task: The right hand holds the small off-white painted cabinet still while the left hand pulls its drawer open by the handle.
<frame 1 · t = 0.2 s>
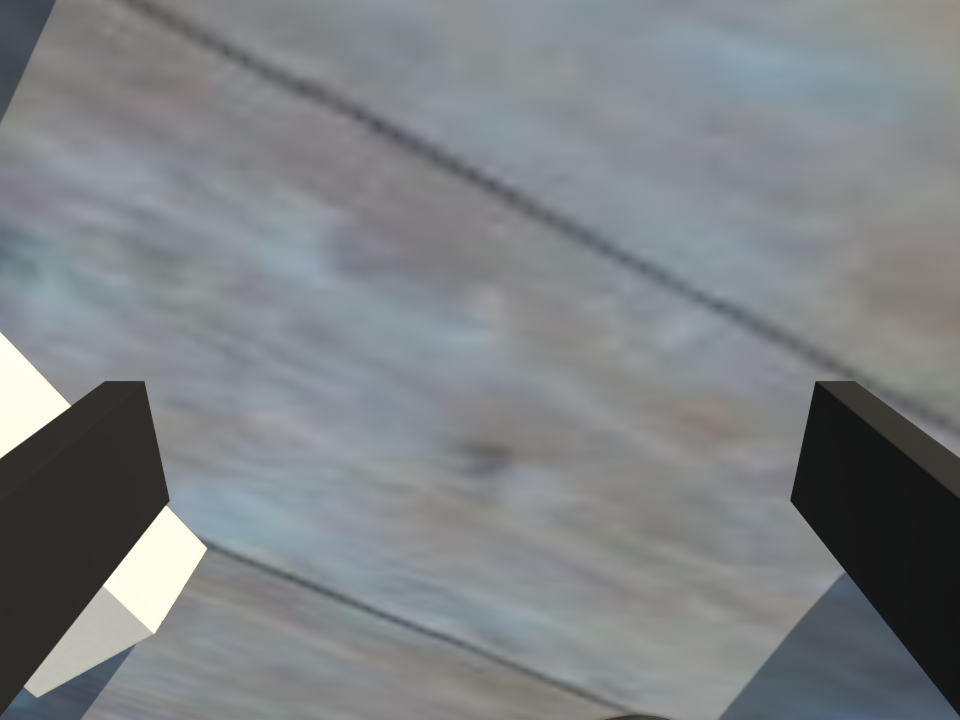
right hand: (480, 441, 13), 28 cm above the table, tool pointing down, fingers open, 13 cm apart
cabinet: (54, 478, 46), on the table
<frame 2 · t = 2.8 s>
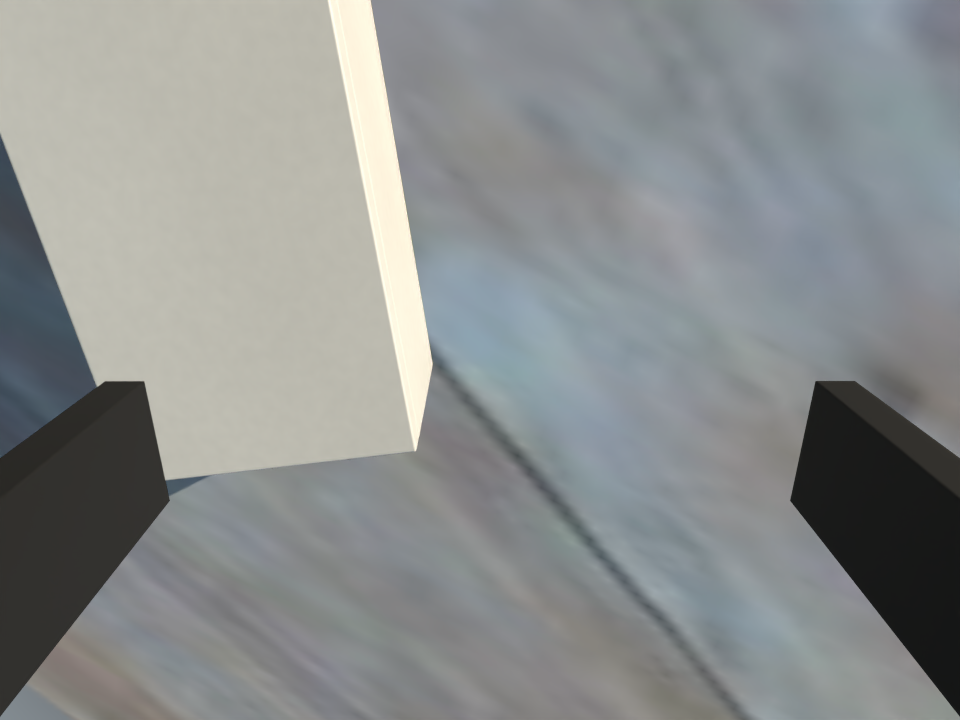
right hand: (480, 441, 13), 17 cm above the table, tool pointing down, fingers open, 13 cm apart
cabinet: (271, 152, 27), on the table
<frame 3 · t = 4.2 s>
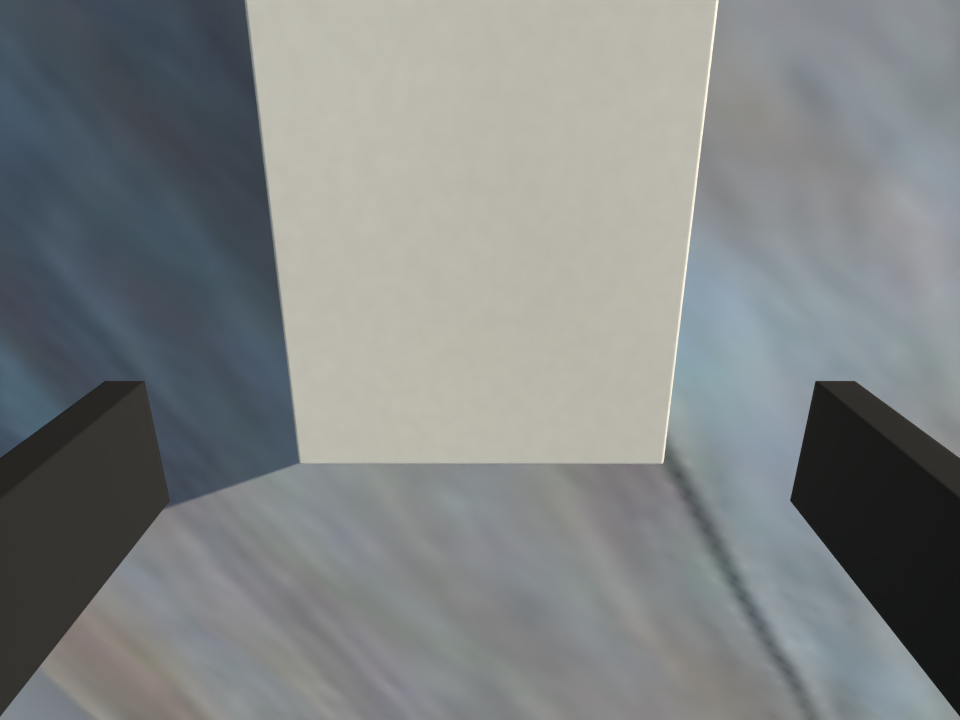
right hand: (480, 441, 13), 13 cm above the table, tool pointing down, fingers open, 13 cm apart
cabinet: (481, 80, 22), on the table
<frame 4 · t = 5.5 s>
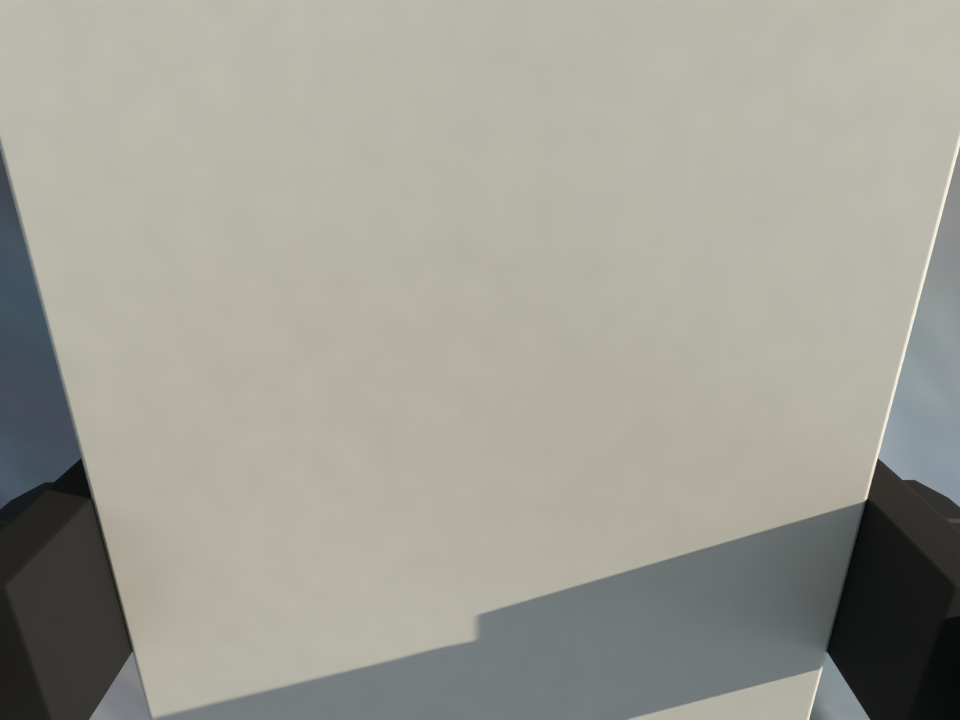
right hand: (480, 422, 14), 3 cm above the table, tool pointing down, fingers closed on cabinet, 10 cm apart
cabinet: (479, 53, 14), on the table, touching right hand
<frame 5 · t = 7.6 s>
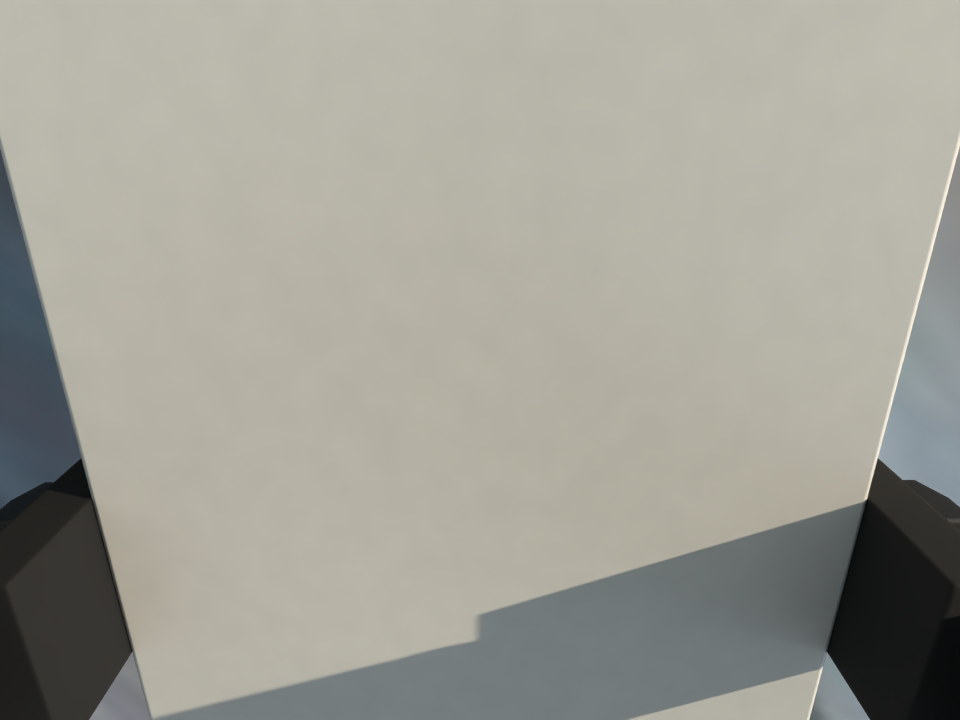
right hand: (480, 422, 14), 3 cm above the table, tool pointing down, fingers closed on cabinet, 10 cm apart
cabinet: (479, 53, 14), on the table, touching right hand
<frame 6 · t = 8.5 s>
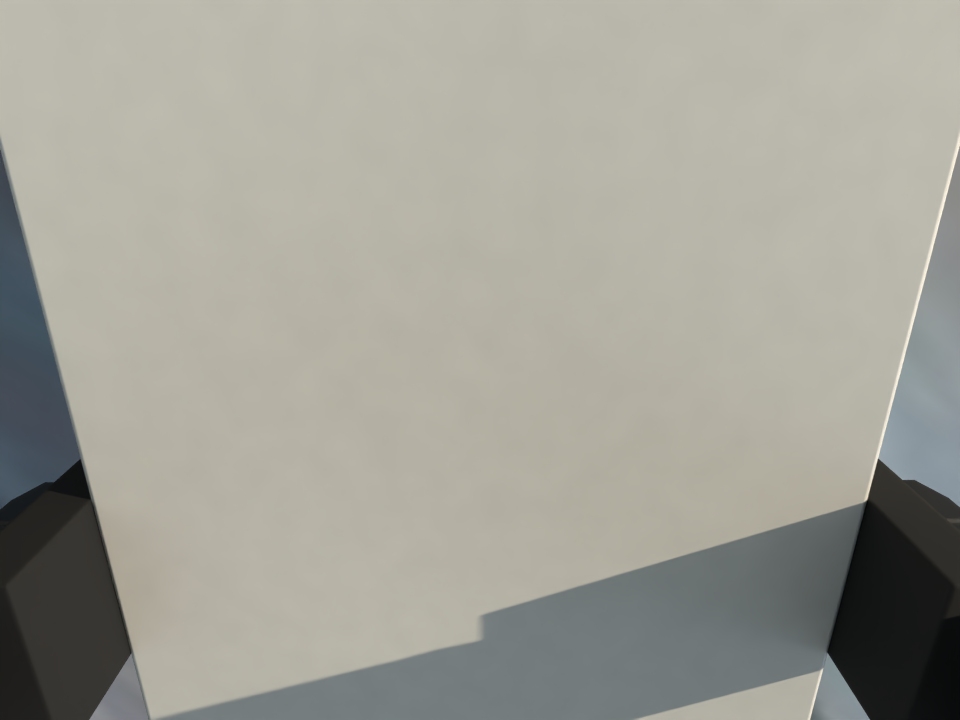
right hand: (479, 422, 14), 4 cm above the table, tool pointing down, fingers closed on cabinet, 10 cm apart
cabinet: (479, 54, 14), on the table, touching right hand
when the right hand's fingers open (3 cm above the table, at t = 10.3 s): cabinet stays where it is, on the table.
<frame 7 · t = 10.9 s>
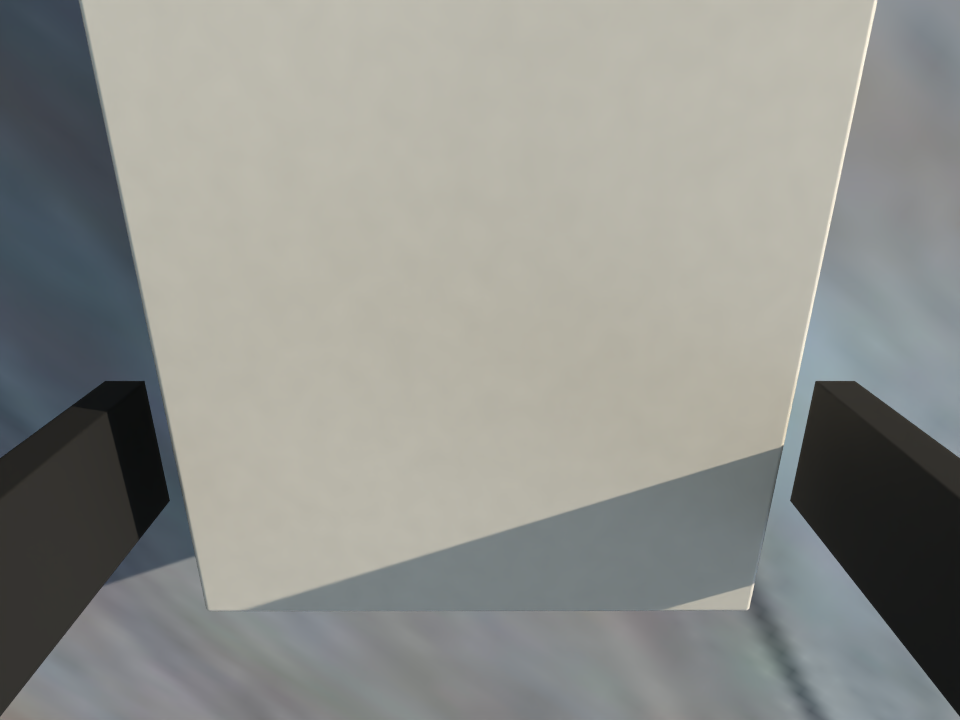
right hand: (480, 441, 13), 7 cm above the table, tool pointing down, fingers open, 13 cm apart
cabinet: (478, 40, 16), on the table
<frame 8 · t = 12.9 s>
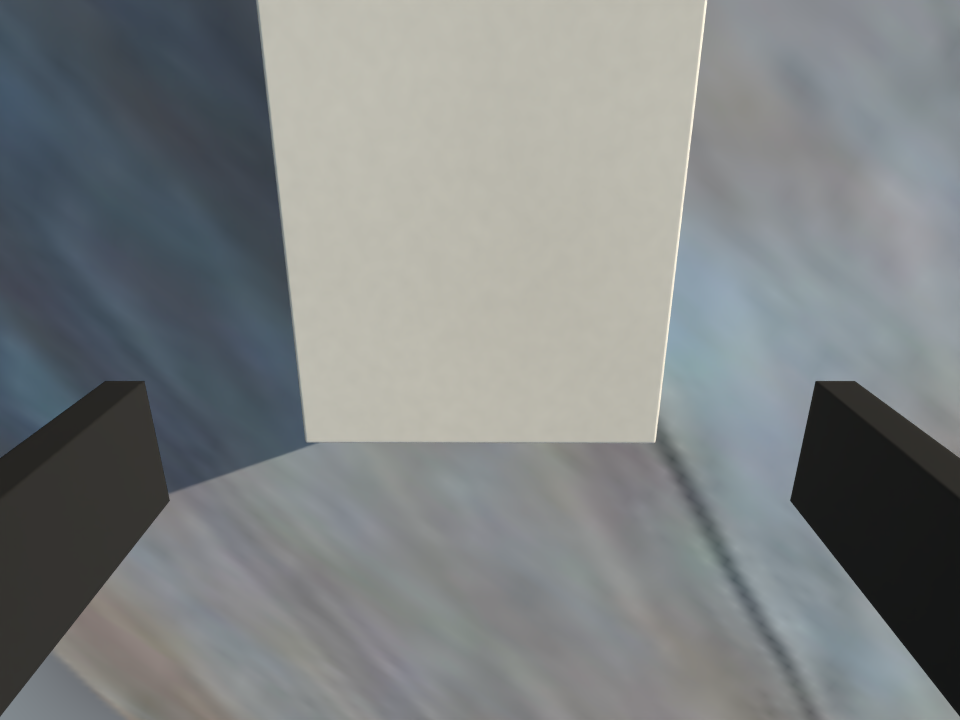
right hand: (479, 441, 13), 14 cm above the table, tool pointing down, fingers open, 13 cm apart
cabinet: (480, 73, 23), on the table
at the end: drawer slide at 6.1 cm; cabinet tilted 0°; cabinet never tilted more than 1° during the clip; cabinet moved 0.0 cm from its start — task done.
